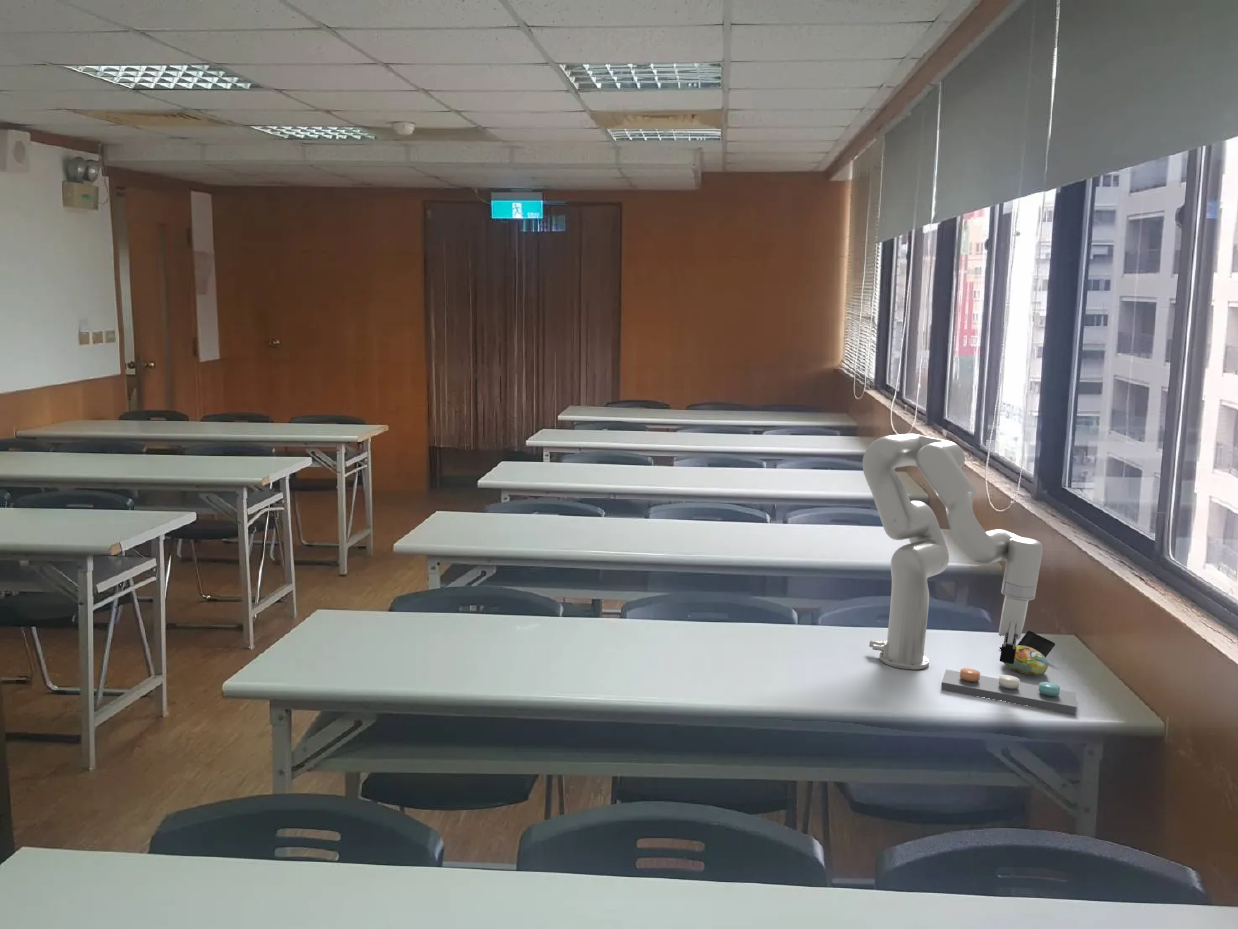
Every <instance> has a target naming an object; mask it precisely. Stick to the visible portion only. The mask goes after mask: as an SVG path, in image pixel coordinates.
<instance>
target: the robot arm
mask: <svg viewBox="0 0 1238 929" xmlns="http://www.w3.org/2000/svg"><path fill="white" fill-rule="evenodd" d="M965 462H966V455H965V453H964V450H963V449H962V447H960V445H959V444H957V443H955V442H953V441H950V440H947V439H941V438H935V437H931V436H927V435H922V434H916V433H903V434H892V435H885V436H881V437H879V438H877V439H875V440H874V441H872V442H871V443H870V444H869V445H868V446H867V447H866V450H865V452H864V454H863V458H862V471H863V475H864V477H865V480H866V482H867V485H868V487H869V490H870V492H871V495H872V498H873V501H874V504H875V507H876V510H877V513H878V515H879V518H880V521H881V525H882V527H883V530H884V532H885V534H886V535H887V537H889V538H890V539H892V540H893V541H894V540H895V541H905V540H908V541H909V543H907V544H904V545H902V546H900V547H899V548H898V549H896V550H895V551H894V552H893V554H892V556H891V560H890V573H891V574H890V575H891V592H890V594H891V596H890V606H889V616H888V617H889V618H888V627H887V628H888V629H887V638H886V639H885V640H882V641H878V640H873V639H870V640H869V646H868V647H869V648H872V650H873V651H881V652H880V653H879V657H878V658H879V660H880V661H881V662H882V663H884V664H885V665H888V666H891V667H893V668H897V669H903V670H922V669H926V668H927V667H929V665H930V659H929V657H927V656H926V655H925V645H926V637H927V636H926V635H927V625H928V614H929V604H930V589H929V584H928V578H930V577H933V576H937V575H939V574H941V573H943V572H944V571H945V570H946V569H947V568H948V565H949V562H950V557H949V556H950V553H949V550H948V546H947V543H946V541H945V539H944V535H943V532H942V529H941V527H940V524H939V521H938V519H937V516H936V514H935V512H934V510H933V509H932V508H931V507H930V506H929V505H928V504H927V503H925V502H923V501H920V500H911V499H910V497H909V494H908V492H907V489H906V486H905V484H904V482H903V479H901V477H900V476H899V475H898V474H897V472H896V469H897V468H904V467H909V466H912V467H917V469H918V470H919V471H920V473H921V474H922V476H923V477H924V479H925V480H926V482H927V483H928V485H929V486H930V487H931V489H932V490H933V491H934V493H935V494H936V496H937V497H938V499H939V500H940V501H941V503H942V504H943V506H944V508H945V515H946V519H947V523H948V526H949V530H950V532H951V534H952V536H953V539H955V541H956V543H957V545H958V546H959V547H960V549H961V550H962V551H963V553H965V555H966V556H967V557H968V558H969V560H971V561H972V562H974V563H976V564H978V565H983V566H985V565H990V564H993V563H997V562H1005V567H1004V574H1003V580H1002V585H1001V586H1002V587H1001V591H1000V593H1001V594H1002V595H1003V596H1004V599H1003V604H1002V609H1001V617H1000V623H999V629H998V636H1000V637H1003V638H1004V639H1003V643H1002V645H1001V647H1002V649H1001V651H1000V657H999V662H1001V663H1003V662H1005V663H1009V664H1013V663H1014V658H1015V653H1016V647H1015V646H1016V645H1017V640H1018V641H1019V640H1021V635H1022V632H1023V629H1024V626H1025V622H1026V616H1027V612H1028V606H1029V601H1033V600H1035V599H1036V592H1037V586H1038V581H1039V575H1040V568H1041V563H1042V557H1043V551H1044V550H1043V549H1044V547H1043V545H1042V543H1041V542H1040V541H1039V540H1036V539H1034V538H1031V537H1023V536H1019V535H1017V534H1015V533H1013V532H1010V531H1008V530H1006V529H1000V528H999V529H998V528H997V529H996V528H995V529H991V530H987V531H986V530H985V529H984V528H983V527H982V525H981V523H979V521H978V519H977V517H976V515H975V513H974V509H973V502H974V499H975V495H976V488H975V486H974V484H973V483H972V481H971V480H970V479H969V478H968V476H967V475H966V473H965V472H964V471H963V469H962V468H963V467H964V465H965Z"/></svg>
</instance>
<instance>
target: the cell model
mask: <svg viewBox="0 0 1238 929" xmlns="http://www.w3.org/2000/svg"><path fill="white" fill-rule="evenodd" d="M1016 645H1017V646H1015V647H1016V653H1015V658H1014V663H1013V664H1009V663H1005V662H1002V663H1003V664H1004V665H1005V666H1007V667H1008V668H1009V669H1011V670H1012V671H1015V672H1018V673H1020V674H1025V675H1029V676H1038V675H1042V674H1044V673H1046V672H1047V671H1048V669H1049V664H1048V661H1047V659H1046V658H1047V657H1044V656H1043V655H1042V654H1041V653H1040V652H1038V651H1037V650H1035V649H1033V648H1030V647H1027V646H1020V645H1018V644H1016Z"/></svg>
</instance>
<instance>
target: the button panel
mask: <svg viewBox="0 0 1238 929" xmlns="http://www.w3.org/2000/svg"><path fill="white" fill-rule="evenodd" d="M940 689H941V690H940V691H944V692H950V693H955V694H961V695H966V696H970V695H971V697H976V696H979V697H978V698H981V697H985V698H984V699H986V698H990V699H989V700H992V699H995V700H994V701H997V700H1002V701H1006V702H1005V703H1008V702H1010V703H1009V704H1013V703H1016V704H1015V705H1018V704H1020V705H1021V706H1024V705H1028V706H1027V707H1029V706H1031V707H1030V708H1035V707H1036V709H1041V710H1045V709H1046V711H1051V710H1052V711H1051V712H1058V713H1062V714H1066V715H1073V716H1076V715H1077V714H1076V712H1077V694H1076V691H1068V690H1063V689H1060V693H1059V695H1057V696H1050V695H1045V694H1042V693H1041V692H1039V685H1036V684H1030V683H1024V682H1019V687H1018V688H1015V689H1012V688H1006V687H1003V686H1001V685H999V678H996V677H990V676H984V675H980V680H979V681H967V680H964V679H962V678H960V671H957V670H951V669H947V668H946V669H945V672H944V675H943V677H942V681H941V688H940ZM1002 701H1001V702H1002Z"/></svg>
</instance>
